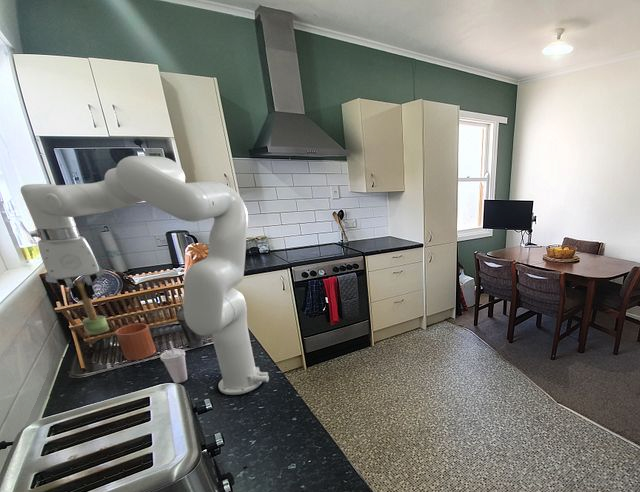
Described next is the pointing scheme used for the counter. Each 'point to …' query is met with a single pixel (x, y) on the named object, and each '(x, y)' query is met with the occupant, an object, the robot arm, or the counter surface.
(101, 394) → the counter surface
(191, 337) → the beverage cup
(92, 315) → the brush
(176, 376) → the smoothie
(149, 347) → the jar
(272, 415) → the counter surface
